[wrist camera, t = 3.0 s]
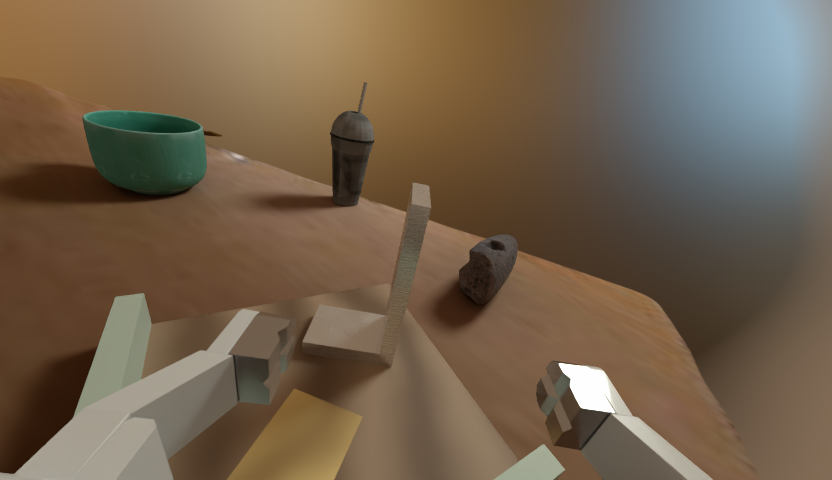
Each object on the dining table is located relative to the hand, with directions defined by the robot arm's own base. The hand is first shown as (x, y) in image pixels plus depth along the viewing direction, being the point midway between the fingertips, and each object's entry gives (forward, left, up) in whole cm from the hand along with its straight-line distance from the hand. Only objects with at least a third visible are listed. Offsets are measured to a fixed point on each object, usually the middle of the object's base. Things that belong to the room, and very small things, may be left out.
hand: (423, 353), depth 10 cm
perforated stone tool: (+24, +17, -14) cm, 33 cm away
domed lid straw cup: (+14, +45, -14) cm, 49 cm away
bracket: (+4, +12, -13) cm, 18 cm away
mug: (-14, +53, -14) cm, 56 cm away
